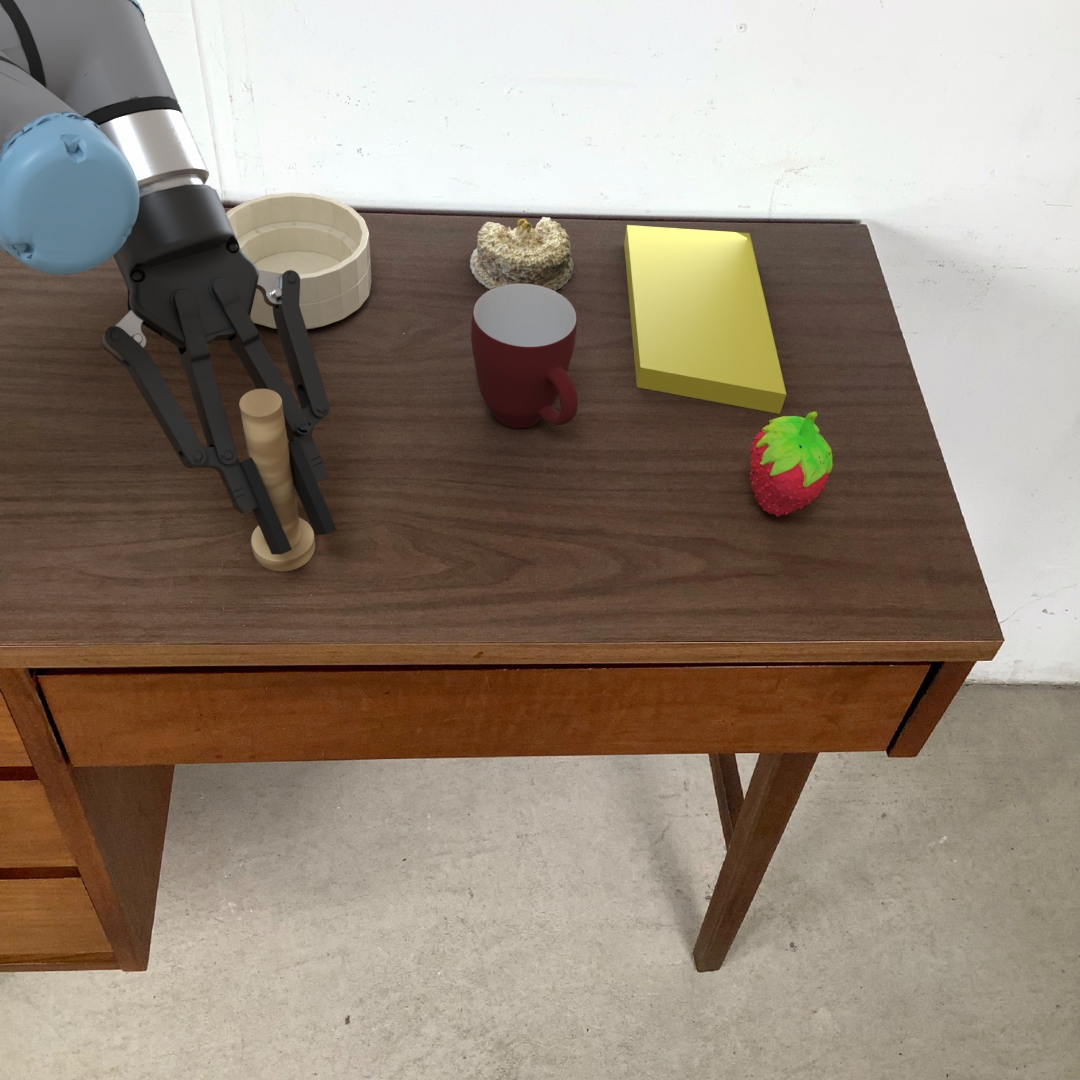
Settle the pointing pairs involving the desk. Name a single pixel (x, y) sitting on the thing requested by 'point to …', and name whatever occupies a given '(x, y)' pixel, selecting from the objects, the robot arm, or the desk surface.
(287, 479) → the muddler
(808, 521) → the desk surface
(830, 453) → the strawberry
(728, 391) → the yellow flat board
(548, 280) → the cake
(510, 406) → the mug
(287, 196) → the bowl
